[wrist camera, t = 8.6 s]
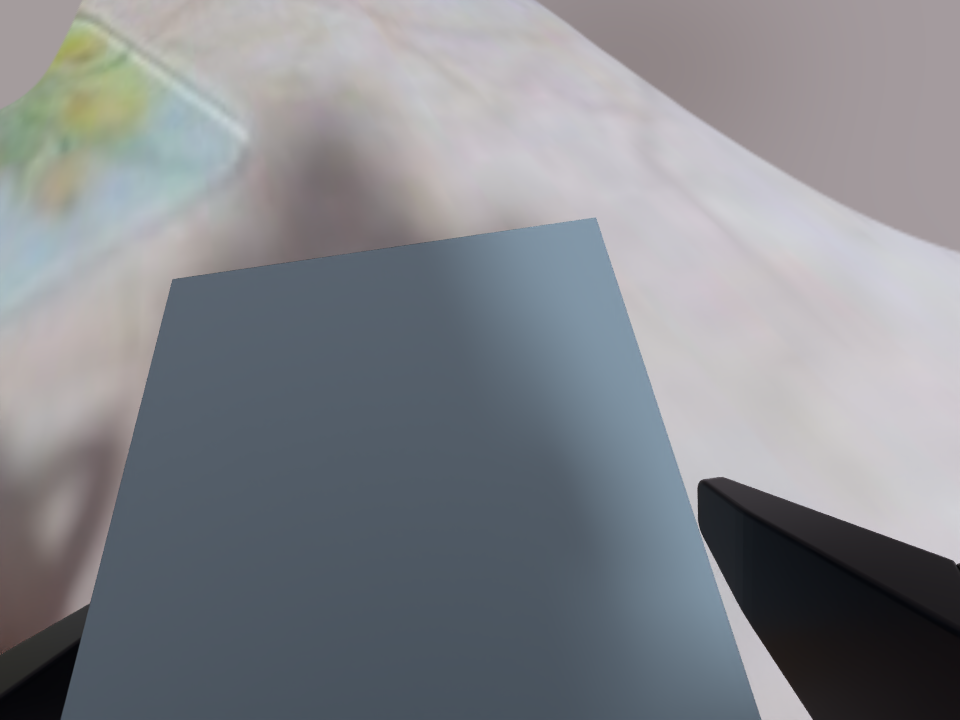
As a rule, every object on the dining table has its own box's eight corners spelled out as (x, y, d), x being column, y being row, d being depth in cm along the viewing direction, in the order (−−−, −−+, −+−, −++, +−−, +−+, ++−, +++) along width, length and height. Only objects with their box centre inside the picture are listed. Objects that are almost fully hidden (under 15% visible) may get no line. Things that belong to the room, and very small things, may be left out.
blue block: (578, 656, 14) (778, 772, 3) (414, 678, 14) (22, 870, 3) (547, 491, 17) (595, 217, 6) (407, 510, 17) (171, 279, 6)
